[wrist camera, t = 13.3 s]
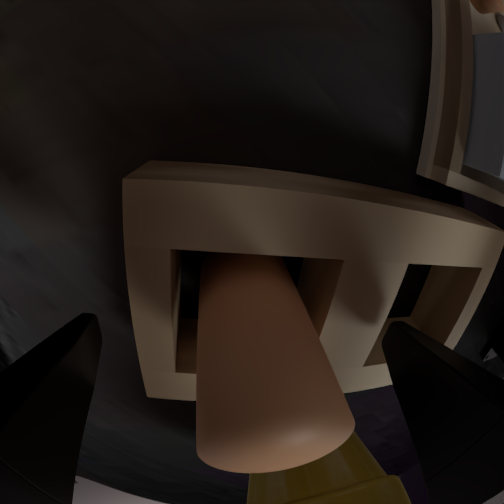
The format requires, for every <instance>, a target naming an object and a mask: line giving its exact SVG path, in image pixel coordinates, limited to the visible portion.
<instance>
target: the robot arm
mask: <svg viewBox="0 0 504 504" xmlns="http://www.w3.org/2000/svg"><path fill="white" fill-rule="evenodd" d="M381 345H382V350H383V353H384V356H385V360H386V363H387V367H388V370H389V374H390V377H391V381H392V384H393V387H394V390H395V392H396V395H397V398H398V400H399V403H400V406H401V409H402V411H403V414H404V417H405V420H406V423H407V426H408V429H409V431H410V434H411V438H412V441H413V444H414V447H415V450H416V453H417V456H418V460H419V463H420V466H421V470H422V473H423V477H424V480H425V485H426V489H427V492H428V496H429V500H430V504H504V380H503V379H501V378H499V377H498V376H496V375H494V374H492V373H491V372H489V371H487V370H486V369H484V368H481V367H480V366H479V365H477V364H475V363H474V362H472V361H470V360H469V359H467V358H465V357H464V356H462V355H460V354H459V353H457V352H455V351H454V350H452V349H450V348H448V347H447V346H445V345H443V344H442V343H440V342H438V341H437V340H435V339H433V338H431V337H430V336H428V335H426V334H425V333H423V332H421V331H419V330H418V329H416V328H414V327H413V326H411V325H409V324H407V323H406V322H404V321H393V322H391V323H390V325H389V326H388V329H387V331H386V333H385V335H384V337H383V339H382V343H381ZM101 346H102V335H101V331H100V326H99V322H98V318H97V316H96V315H95V314H90V313H82V314H80V315H79V316H77V317H76V318H74V319H73V320H71V321H70V322H69V323H67V324H66V325H64V326H63V327H62V328H60V329H59V330H57V331H56V332H55V333H53V334H52V335H50V336H49V337H48V338H46V339H45V340H43V341H42V342H41V343H39V344H38V345H37V346H35V347H34V348H32V349H31V350H30V351H28V352H27V353H26V354H24V355H23V356H22V357H20V358H19V359H18V360H16V361H15V362H14V363H12V364H11V365H10V366H8V367H7V368H6V369H5V370H3V371H2V372H1V373H0V504H72V498H73V490H74V483H75V476H76V470H77V464H78V458H79V452H80V447H81V442H82V437H83V432H84V428H85V423H86V419H87V415H88V411H89V407H90V403H91V399H92V395H93V391H94V386H95V380H96V374H97V368H98V362H99V356H100V351H101ZM496 356H498V357H499V358H500V359H501V360H502V361H503V363H504V320H503V322H502V324H501V326H500V328H499V329H498V331H497V333H496V334H495V336H494V338H493V339H492V341H491V343H490V344H489V346H488V347H487V349H486V351H485V352H484V354H483V355H482V357H481V359H482V360H483V361H486V360H489V359H491V358H493V357H496Z"/></svg>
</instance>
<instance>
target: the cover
mask: <svg viewBox="0 0 504 504" xmlns="http://www.w3.org/2000/svg"><path fill="white" fill-rule="evenodd" d="M462 164H463V165H466V166H469V167H472V168H475V169H478V170H480V171H483V172H486V173H488V174H491V175H493V176H495V177H497V178H498V179H500V180H502V181H504V32H498V33H485V34H475V35H473V83H472V98H471V109H470V118H469V126H468V133H467V140H466V146H465V152H464V157H463V162H462Z"/></svg>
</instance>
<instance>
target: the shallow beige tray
mask: <svg viewBox="0 0 504 504" xmlns="http://www.w3.org/2000/svg"><path fill="white" fill-rule="evenodd" d="M431 1H432V63H431V78H430V89H429V99H428V107H427V115H426V122H425V128H424V135H423V140H422V146H421V151H420V157H419V162H418V166H417V171H416V174H418V175H421V176H423V177H426V178H429V179H432V180H434V181H437V182H439V183H442V184H444V185H447V186H450V187H453V188H455V189H458V190H461V191H464V192H467V193H470V194H472V195H475V196H478V197H480V198H483V199H485V200H488V201H491V202H493V203H495V204H498V205H500V206H503V207H504V181H502V180H500V179H498V178H497V177H495V176H493V175H491V174H488V173H486V172H483V171H480V170H478V169H475V168H472V167H469V166H466V165H463V164H462V162H463V157H464V152H465V146H466V140H467V133H468V126H469V118H470V109H471V98H472V83H473V35H475V34H485V33H498V32H504V0H431Z"/></svg>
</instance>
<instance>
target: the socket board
mask: <svg viewBox="0 0 504 504" xmlns="http://www.w3.org/2000/svg"><path fill="white" fill-rule="evenodd" d="M122 203H123V233H124V250H125V263H126V274H127V284H128V293H129V301H130V308H131V316H132V322H133V329H134V335H135V341H136V346H137V352H138V357H139V362H140V367H141V372H142V377H143V381H144V386H145V390H146V394H147V397H151V398H161V399H173V400H189V401H196V367H197V333H198V319H187V318H181V250H194V251H210V252H226V253H242V254H258V255H275V256H291V257H304V260H303V264H302V268H301V272H300V277H299V281H298V285H297V291H298V293H299V295H300V297H301V299H302V302H303V304H304V306H305V308H306V310H307V313H308V315H309V317H310V319H311V321H312V324H313V326H314V328H315V330H316V332H317V335H318V337H319V339H320V341H321V344H322V346H323V348H324V350H325V353H326V355H327V357H328V360H329V362H330V364H331V366H332V369H333V371H334V373H335V376H336V378H337V380H338V382H339V385H340V387H341V389H342V392H343V393H349V392H355V391H361V390H367V389H372V388H377V387H382V386H387V385H392V381H391V377H390V374H389V370H388V367H387V363H386V360H385V356H384V353H383V350H382V345H381V343H382V339H383V337H384V335H385V333H386V331H387V329H388V326H389V325H390V323H391V322H393V321H404V322H406V323H407V324H409V325H411V326H413V327H414V328H416V329H418V330H419V331H421V332H423V333H425V334H426V335H428V336H430V337H431V338H433V339H435V340H437V341H438V342H440V343H442V344H443V345H445V346H447V347H448V348H450V349H452V350H453V349H454V347H455V346H456V344H457V342H458V341H459V339H460V337H461V336H462V334H463V332H464V330H465V329H466V327H467V325H468V323H469V322H470V320H471V318H472V316H473V314H474V312H475V310H476V308H477V306H478V304H479V302H480V300H481V298H482V296H483V294H484V292H485V290H486V288H487V285H488V283H489V281H490V279H491V276H492V274H493V272H494V269H495V267H496V264H497V262H498V259H499V257H500V254H501V251H502V249H503V246H504V230H502V229H501V228H499V227H497V226H496V225H494V224H492V223H490V222H489V221H487V220H485V219H483V218H482V217H480V216H478V215H476V214H474V213H473V212H471V211H469V210H467V209H465V208H461V207H458V206H454V205H451V204H447V203H443V202H440V201H436V200H432V199H428V198H424V197H420V196H416V195H412V194H408V193H403V192H399V191H395V190H390V189H385V188H381V187H376V186H371V185H366V184H361V183H356V182H350V181H345V180H339V179H333V178H327V177H321V176H315V175H308V174H302V173H295V172H287V171H280V170H272V169H263V168H254V167H245V166H234V165H223V164H211V163H196V162H179V161H154V160H150V161H148V162H147V163H145V164H144V165H142V166H141V167H139V168H138V169H136V170H135V171H133V172H132V173H130V174H129V175H127V176H126V177H124V178H123V179H122ZM408 264H426V265H432V266H431V269H430V271H429V274H428V276H427V279H426V281H425V284H424V286H423V289H422V291H421V293H420V295H419V298H418V300H417V302H416V304H415V307H414V309H413V311H412V313H411V315H410V316H409V317H396V318H387V316H388V314H389V311H390V309H391V307H392V304H393V302H394V300H395V297H396V295H397V293H398V290H399V288H400V285H401V283H402V280H403V277H404V275H405V272H406V269H407V267H408Z"/></svg>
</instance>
